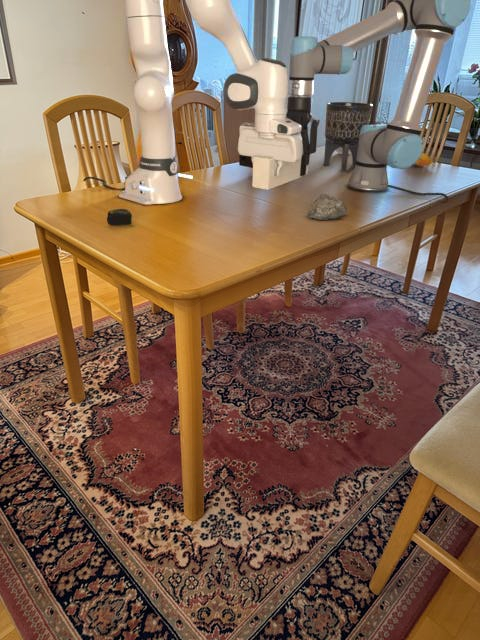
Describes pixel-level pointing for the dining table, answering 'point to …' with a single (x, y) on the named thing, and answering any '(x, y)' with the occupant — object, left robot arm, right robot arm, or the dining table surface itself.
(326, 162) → the planter
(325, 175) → the dining table surface
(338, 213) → the rock
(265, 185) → the bar
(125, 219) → the tape measure
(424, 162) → the toy
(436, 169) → the dining table surface
